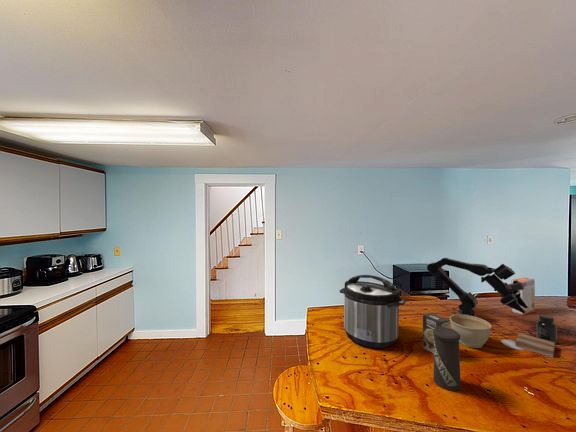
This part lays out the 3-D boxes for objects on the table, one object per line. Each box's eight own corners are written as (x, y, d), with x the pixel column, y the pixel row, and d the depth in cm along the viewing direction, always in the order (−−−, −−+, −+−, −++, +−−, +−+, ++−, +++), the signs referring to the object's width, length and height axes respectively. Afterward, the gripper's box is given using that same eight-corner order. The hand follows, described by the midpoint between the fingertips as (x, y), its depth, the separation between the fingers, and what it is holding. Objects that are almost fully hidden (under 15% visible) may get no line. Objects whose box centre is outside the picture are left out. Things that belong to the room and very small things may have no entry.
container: (427, 376, 94) (427, 325, 93) (449, 374, 94) (448, 324, 94) (444, 392, 85) (443, 336, 85) (467, 390, 86) (467, 335, 86)
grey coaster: (509, 349, 112) (509, 348, 112) (496, 340, 121) (496, 338, 121) (532, 351, 110) (532, 350, 110) (517, 341, 119) (517, 340, 119)
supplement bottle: (561, 345, 114) (561, 320, 114) (544, 344, 115) (544, 319, 115) (548, 338, 121) (548, 314, 121) (532, 336, 122) (532, 313, 122)
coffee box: (422, 348, 113) (421, 314, 113) (431, 345, 116) (431, 311, 116) (441, 358, 105) (440, 321, 105) (450, 355, 107) (450, 319, 107)
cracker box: (523, 308, 158) (523, 276, 158) (535, 312, 152) (535, 279, 152) (510, 311, 153) (510, 279, 153) (522, 315, 147) (522, 281, 147)
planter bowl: (453, 331, 128) (453, 311, 128) (493, 343, 117) (493, 320, 117) (446, 343, 117) (446, 321, 117) (489, 357, 105) (489, 332, 105)
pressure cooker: (416, 344, 116) (415, 279, 116) (368, 357, 107) (367, 286, 106) (374, 319, 145) (373, 267, 144) (333, 327, 135) (332, 271, 135)
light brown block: (553, 357, 104) (553, 351, 104) (515, 346, 114) (515, 341, 114) (554, 347, 112) (554, 342, 112) (519, 337, 121) (519, 332, 121)
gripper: (508, 279, 122) (540, 307, 113) (514, 273, 133) (543, 298, 125) (488, 291, 128) (517, 318, 119) (496, 284, 140) (522, 308, 131)
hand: (525, 310), depth 123 cm, fingers open, 9 cm apart
